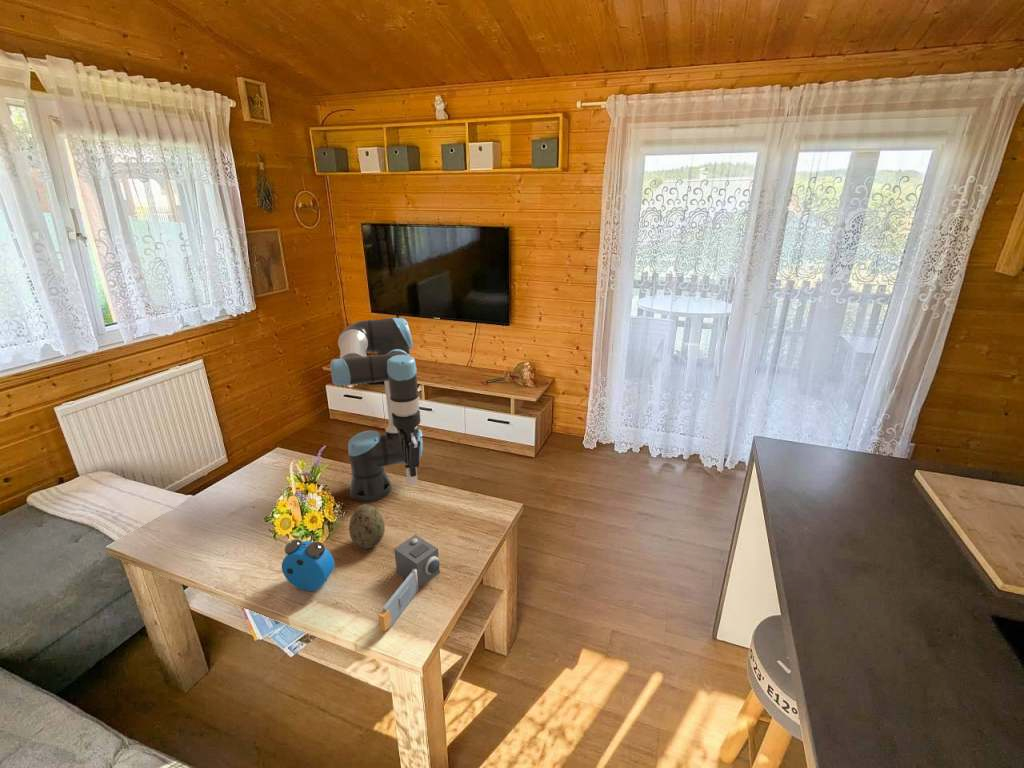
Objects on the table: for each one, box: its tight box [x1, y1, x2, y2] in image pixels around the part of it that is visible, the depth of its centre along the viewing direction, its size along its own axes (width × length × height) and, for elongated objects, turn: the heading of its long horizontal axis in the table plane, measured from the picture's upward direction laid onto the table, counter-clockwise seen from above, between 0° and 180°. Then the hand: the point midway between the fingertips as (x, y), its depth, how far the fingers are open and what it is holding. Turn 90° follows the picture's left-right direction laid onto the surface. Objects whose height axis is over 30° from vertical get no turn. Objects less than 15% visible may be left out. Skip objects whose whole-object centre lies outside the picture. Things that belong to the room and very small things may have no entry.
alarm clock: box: [281, 538, 335, 592], centre depth 136 cm, size 13×6×15 cm, turn 80°
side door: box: [378, 568, 420, 632], centre depth 128 cm, size 16×1×7 cm, turn 158°
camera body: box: [393, 534, 441, 589], centre depth 140 cm, size 11×8×10 cm
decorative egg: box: [348, 504, 386, 549], centre depth 151 cm, size 11×11×15 cm
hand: (412, 483), depth 141 cm, fingers closed
